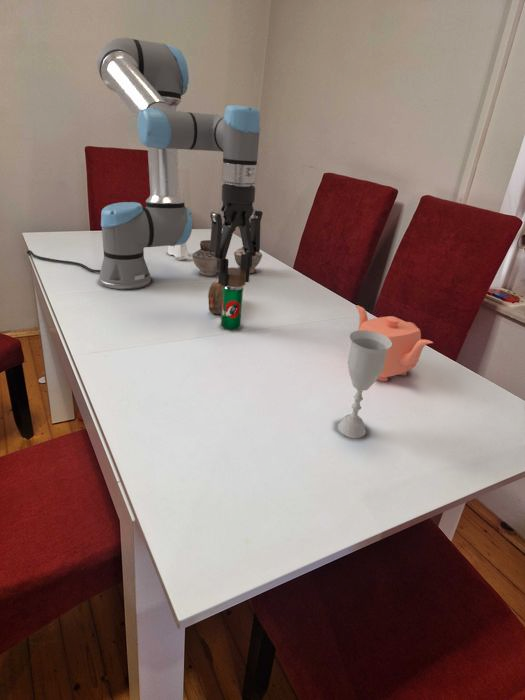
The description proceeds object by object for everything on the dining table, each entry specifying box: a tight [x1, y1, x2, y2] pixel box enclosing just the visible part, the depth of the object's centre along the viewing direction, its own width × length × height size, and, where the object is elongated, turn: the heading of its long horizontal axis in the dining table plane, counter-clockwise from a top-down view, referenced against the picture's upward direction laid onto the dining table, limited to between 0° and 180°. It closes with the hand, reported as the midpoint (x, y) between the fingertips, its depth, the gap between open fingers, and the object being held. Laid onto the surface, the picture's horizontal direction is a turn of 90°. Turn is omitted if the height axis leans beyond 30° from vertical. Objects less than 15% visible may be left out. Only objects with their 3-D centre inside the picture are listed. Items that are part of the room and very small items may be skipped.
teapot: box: [355, 305, 434, 382], centre depth 101 cm, size 15×17×13 cm
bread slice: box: [207, 277, 223, 315], centre depth 126 cm, size 15×3×8 cm, turn 168°
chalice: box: [337, 330, 392, 439], centre depth 78 cm, size 7×7×18 cm
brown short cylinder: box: [227, 267, 247, 287], centre depth 111 cm, size 6×6×3 cm
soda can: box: [220, 286, 244, 331], centre depth 115 cm, size 5×5×12 cm
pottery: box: [191, 239, 263, 277], centre depth 156 cm, size 11×25×12 cm, turn 116°
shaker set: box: [167, 242, 189, 261], centre depth 167 cm, size 12×4×11 cm, turn 31°
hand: (233, 282), depth 112 cm, fingers closed on brown short cylinder, 6 cm apart
